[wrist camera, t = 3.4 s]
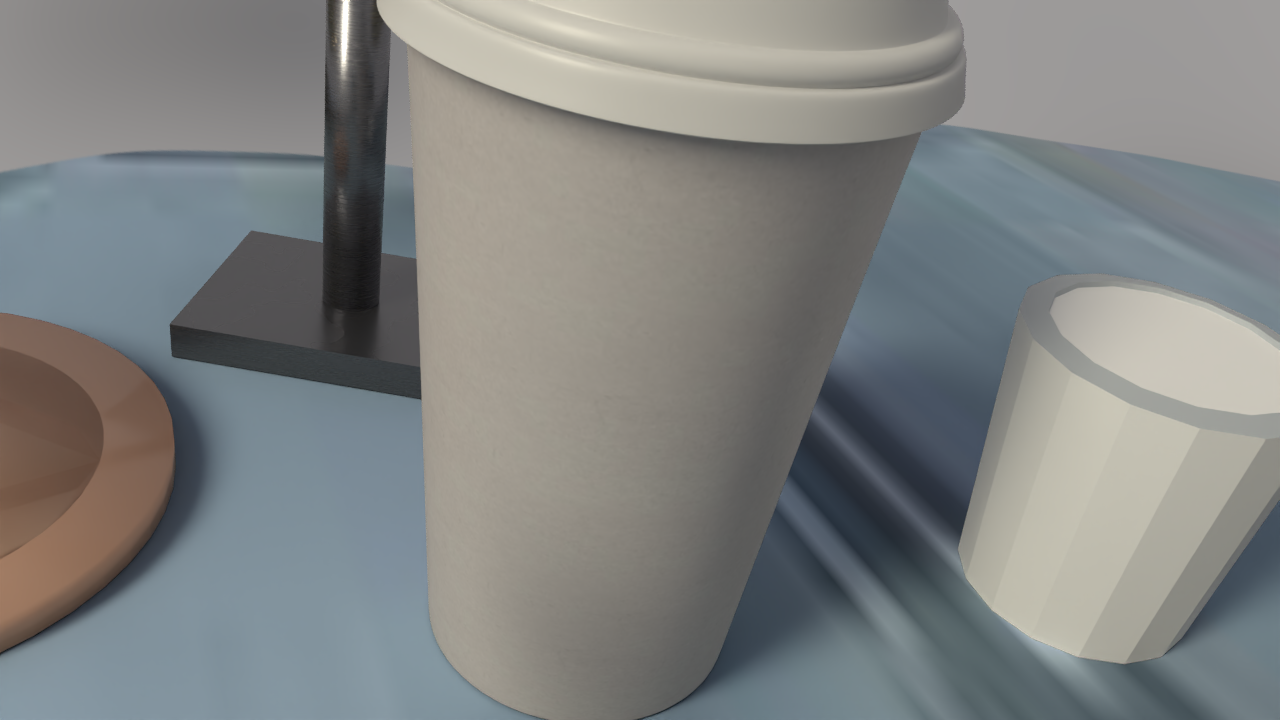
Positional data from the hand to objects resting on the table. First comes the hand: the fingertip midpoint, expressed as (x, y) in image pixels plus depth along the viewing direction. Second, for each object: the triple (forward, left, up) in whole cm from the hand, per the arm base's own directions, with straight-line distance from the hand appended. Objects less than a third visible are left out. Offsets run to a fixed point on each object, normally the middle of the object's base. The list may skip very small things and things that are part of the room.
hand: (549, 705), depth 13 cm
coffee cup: (0, -11, -9) cm, 14 cm away
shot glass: (-12, -15, -9) cm, 21 cm away
